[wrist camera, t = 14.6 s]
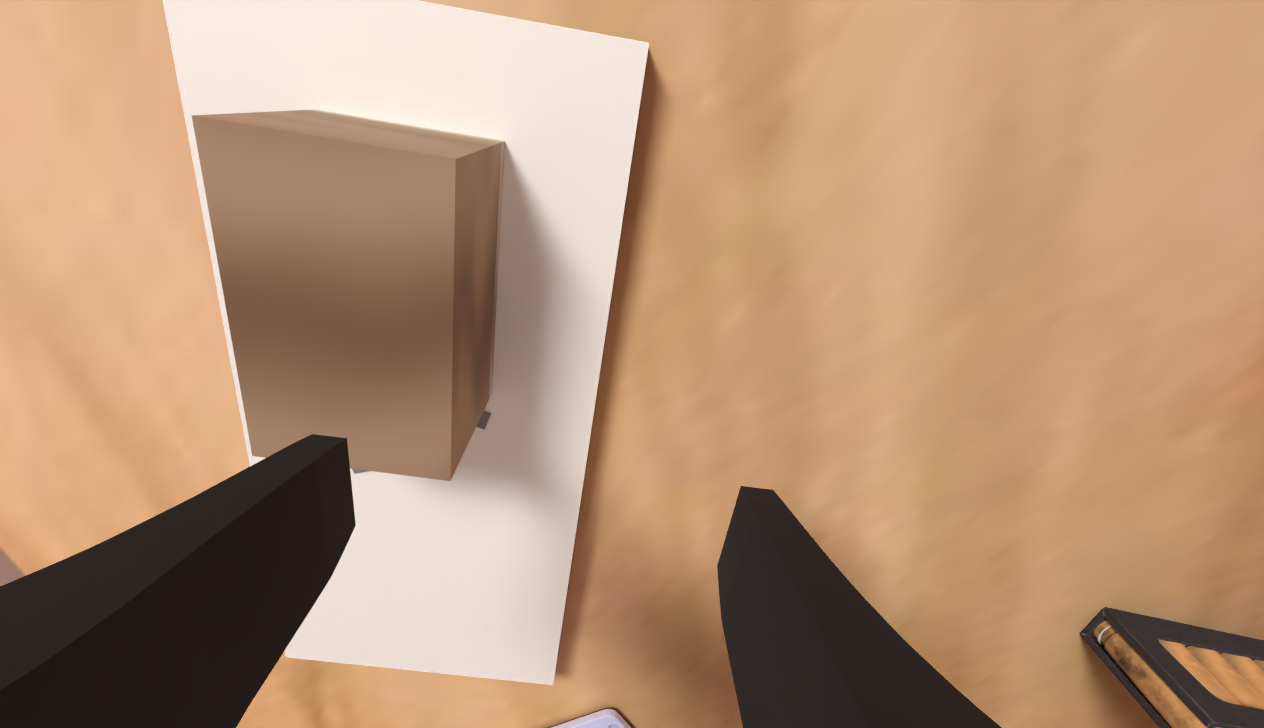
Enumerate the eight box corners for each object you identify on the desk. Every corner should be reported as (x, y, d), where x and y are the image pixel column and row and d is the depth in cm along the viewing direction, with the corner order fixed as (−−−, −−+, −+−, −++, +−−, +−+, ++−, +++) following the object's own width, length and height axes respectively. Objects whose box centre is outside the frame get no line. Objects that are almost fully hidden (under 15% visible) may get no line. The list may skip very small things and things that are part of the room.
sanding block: (491, 394, 18) (450, 481, 14) (339, 373, 18) (252, 455, 14) (504, 141, 15) (455, 159, 11) (316, 109, 15) (191, 115, 10)
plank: (556, 661, 26) (552, 686, 25) (300, 633, 26) (285, 658, 25) (648, 46, 15) (649, 42, 14) (189, -38, 14) (152, -49, 13)
